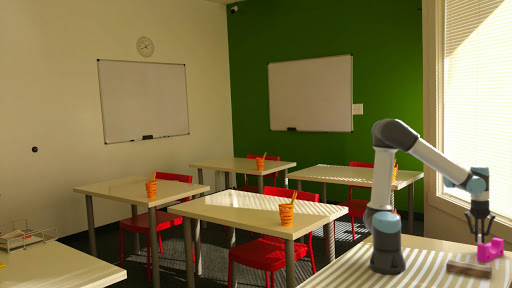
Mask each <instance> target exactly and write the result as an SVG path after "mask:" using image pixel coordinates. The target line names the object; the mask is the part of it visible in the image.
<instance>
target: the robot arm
mask: <svg viewBox="0 0 512 288" xmlns="http://www.w3.org/2000/svg"><path fill="white" fill-rule="evenodd" d="M371 136H372V139H373V140H372V141H373V142H372V148H373V149H374V151H375V154H374V164H373V175H372V183H371V185H372V186H371V193H370V201H369V202H368V203H367V204H366V210H365V212H364V213H363V215H362V216H363V217H362V221H363V224H364V227H365V228H366V230H368V231H369V233H370V234H371V235H372V244H373V248H372V249H373V250H372V252H371V256H370V259H369V268H370V269H371V271H374V272H375V273H378V274H384V275H398V274H402V273H403V272H405V271H406V270H407V264H406V260H405V258H404V255H403V252H402V222H401V217H400V216H399V215H398V214H397V213H396V212H395V213H394V212H393V210H394V209H393V208H394V207H393V206H392V205H391V195H392V184H393V176H394V169H395V168H394V167H395V166H394V165H395V156H396V155H395V154H396V153H397V152H398V151H399V150H400V151H401V152H403V153H405V154H406V153H409V154H410V155H412V156H413V157H415V158H416V159H417V160H420V161H421V162H422V163H424V164H425V165H426V166H427V167H430V168H432V169H433V170H434V171H436V172H437V173H439V174H440V175H441V176H442V181H443V184H444V187H446V188H447V189H454V188H455V189H460V190H461V191H464V192H466V193H469V194H470V198H471V199H470V208H469V210H468V211H465V212H464V217H465V218H466V221H467V225H468V228H469V231H470V234H472V235H474V241H475V243H477V245H478V244H485V242H486V236H489V235H490V233H491V229H492V226H493V222H494V220H495V219H496V217H497V215H496V214H493V213H492V212H491V210H490V168H489V167H488V166H487V165H480V164H478V165H471V166H470V168H469V170H467V168H464V167H463V166H461V165H460V164H459V163H457V162H456V161H454V160H453V159H451V158H450V157H449V156H447V155H445V154H444V153H442V152H441V151H440V150H438V149H436V147H433V146H432V145H431V144H429V143H428V142H426V141H425V140H424V139H422V138H421V137H420V134H419V133H417V132H416V131H414V130H413V129H412V128H411V127H410V126H408V125H407V124H406V123H404V122H403V121H402V120H399V119H394V118H383V119H379V120H378V121H376V122H375V123H374V124H373V126H372V128H371ZM471 216H472V217H473V218H474V225H473V220H472V217H471ZM488 217H489V221H488V224H487V228H486V219H487V218H488ZM479 221H480V223H479ZM479 226H480V227H479ZM480 228H481V230H479V229H480ZM480 232H481V233H480Z"/></svg>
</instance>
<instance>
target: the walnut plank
mask: <svg viewBox="0 0 512 288" xmlns="http://www.w3.org/2000/svg"><path fill="white" fill-rule="evenodd" d="M445 264H446V265H445V270H446V272H452V273H457V274H461V275H466V276H467V275H468V276H472V277H473V276H474V277H477V278H483V279H488V280H490V279H491V277H492V275H493V267H492V266H487V265H483V264H482V265H481V264H475V263H470V262H464V261H459V260H452V259H448V261H447V262H446V263H445Z"/></svg>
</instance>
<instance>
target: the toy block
mask: <svg viewBox="0 0 512 288" xmlns="http://www.w3.org/2000/svg"><path fill="white" fill-rule="evenodd" d="M504 245H505V239H504V238H503V239H502V238H499V237H492V238H491V242H488V243H486V244H485V243H482V244H478V243H477V245H476V246H477V247H476V248H477V250H476V251H477V253H476V254H477V256H476V259H477V261H478V262H481V263H485V264H487V263H489V262H490V261H492V260H494V259H496V258H500V257H501V256H503V255H504V254H505V250H504V248H505V246H504Z"/></svg>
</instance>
